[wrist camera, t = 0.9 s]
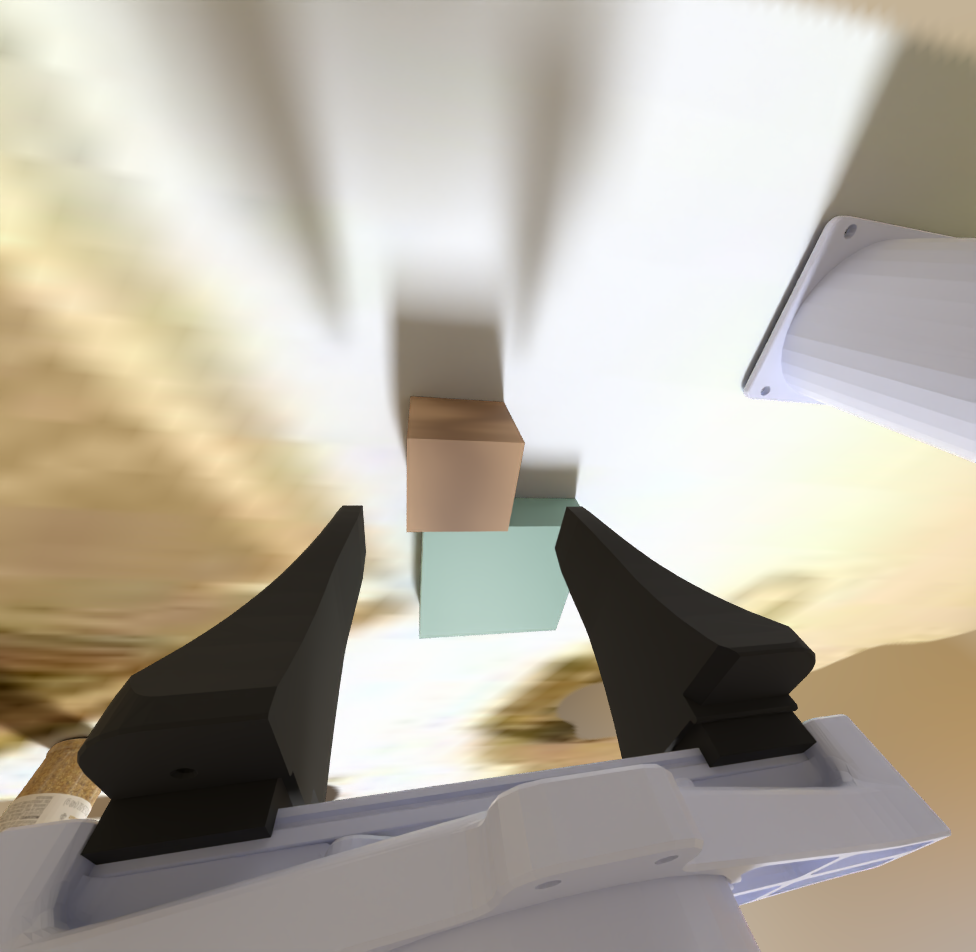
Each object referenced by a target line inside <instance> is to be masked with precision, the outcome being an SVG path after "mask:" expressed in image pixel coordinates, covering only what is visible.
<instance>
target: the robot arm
mask: <svg viewBox="0 0 976 952" xmlns="http://www.w3.org/2000/svg"><path fill="white" fill-rule="evenodd" d="M847 228H848V230H847V233H846V234H845V231H846V229H847ZM844 234H845V235H844ZM763 388H764V389H763ZM762 389H763V391H761V390H762ZM743 392H744V395H745V396H746V397H748V398H751V399H758V400H772V401H785V402H798V403H812V404H825V405H829V406H832V407H834V408H837V409H839V410H842V411H845V412H847V413H850V414H852V415H855V416H857V417H860V418H862V419H865V420H867V421H870V422H872V423H875V424H877V425H880V426H883V427H885V428H888V429H890V430H893V431H895V432H898V433H900V434H903V435H905V436H908V437H910V438H913V439H915V440H918V441H921V442H923V443H926V444H928V445H931V446H933V447H936V448H938V449H941V450H943V451H946V452H948V453H951V454H953V455H956V456H959V457H961V458H964V459H966V460H969V461H971V462H974V463H976V238H957V237H952V236H947V235H942V234H937V233H932V232H927V231H922V230H917V229H912V228H907V227H902V226H897V225H893V224H888V223H883V222H878V221H873V220H868V219H863V218H858V217H853V216H848V215H846V216H836V217H834V218H832V219H831V220H830V221H829V222H828V223H827V225H826V226H825V228H824V229H823V231H822V233H821V235H820V237H819V239H818V241H817V243H816V245H815V247H814V249H813V251H812V253H811V255H810V257H809V259H808V261H807V263H806V265H805V267H804V269H803V271H802V273H801V275H800V277H799V279H798V281H797V283H796V285H795V287H794V289H793V291H792V293H791V295H790V297H789V299H788V301H787V303H786V305H785V307H784V309H783V311H782V313H781V315H780V317H779V319H778V321H777V323H776V325H775V327H774V329H773V331H772V333H771V335H770V337H769V339H768V341H767V343H766V345H765V347H764V349H763V351H762V353H761V355H760V357H759V359H758V361H757V363H756V365H755V367H754V369H753V371H752V373H751V375H750V377H749V379H748V381H747V384H746V386H745V388H744V391H743ZM555 552H556V555H557V559H558V563H559V566H560V569H561V573H562V575H563V578H564V580H565V582H566V585H567V587H568V589H569V592H570V594H571V596H572V598H573V601H574V603H575V605H576V607H577V610H578V612H579V614H580V616H581V619H582V621H583V623H584V626H585V628H586V631H587V633H588V636H589V639H590V642H591V645H592V648H593V651H594V654H595V657H596V660H597V663H598V667H599V670H600V674H601V677H602V680H603V684H604V687H605V691H606V695H607V698H608V702H609V706H610V710H611V714H612V717H613V721H614V725H615V729H616V734H617V738H618V743H619V747H620V751H621V756H622V759H618V760H611V761H604V762H597V763H591V764H584V765H577V766H570V767H563V768H556V769H549V770H542V771H535V772H529V773H522V774H515V775H508V776H501V777H494V778H487V779H480V780H473V781H467V782H460V783H453V784H446V785H439V786H432V787H425V788H418V789H411V790H405V791H398V792H391V793H384V794H377V795H370V796H363V797H356V798H349V799H343V800H336V801H329V802H325V799H326V790H327V782H328V773H329V765H330V756H331V748H332V740H333V732H334V724H335V717H336V709H337V702H338V695H339V688H340V681H341V674H342V667H343V660H344V654H345V649H346V644H347V640H348V636H349V632H350V628H351V624H352V620H353V616H354V612H355V608H356V604H357V600H358V596H359V592H360V587H361V583H362V579H363V572H364V564H365V555H366V546H365V532H364V518H363V506H342V507H341V508H340V509H339V510H338V512H337V513H336V514H335V516H334V517H333V518H332V519H331V521H330V522H329V523H328V525H327V526H326V527H325V528H324V529H323V531H322V532H321V533H320V534H319V535H318V536H317V538H316V539H315V540H314V541H313V542H312V543H311V544H310V546H309V547H308V548H307V549H306V550H305V551H304V552H303V553H302V554H301V555H300V556H299V557H298V558H297V559H296V560H295V561H294V562H293V563H292V564H291V565H290V566H289V567H288V568H287V569H286V570H285V571H284V572H283V573H282V574H281V575H280V576H279V577H278V578H277V579H275V580H274V581H273V582H272V583H271V584H270V585H269V586H267V587H266V588H265V589H264V590H263V591H262V592H260V593H259V594H258V595H257V596H255V597H254V598H253V599H251V600H250V601H249V602H248V603H246V604H245V605H244V606H242V607H241V608H240V609H238V610H237V611H236V612H234V613H233V614H232V615H230V616H229V617H228V618H226V619H225V620H223V621H222V622H220V623H219V624H217V625H216V626H214V627H213V628H211V629H210V630H208V631H207V632H205V633H204V634H202V635H201V636H199V637H197V638H196V639H194V640H193V641H191V642H189V643H188V644H186V645H185V646H183V647H181V648H180V649H178V650H176V651H174V652H173V653H171V654H169V655H167V656H166V657H164V658H162V659H160V660H159V661H157V662H155V663H153V664H152V665H150V666H148V667H146V668H145V669H143V670H141V671H139V672H137V673H136V674H134V675H132V676H131V677H130V678H129V680H128V681H127V682H126V683H125V685H124V686H123V687H122V688H121V690H120V691H119V692H118V693H117V695H116V696H115V697H114V699H113V700H112V702H111V703H110V705H109V706H108V707H107V709H106V710H105V712H104V713H103V715H102V716H101V718H100V719H99V721H98V722H97V724H96V725H95V727H94V728H93V730H92V731H91V733H90V734H89V736H88V737H87V739H86V740H85V742H84V743H83V745H82V746H81V748H80V749H79V751H78V753H77V763H78V765H79V767H80V768H81V770H82V771H83V773H84V774H85V775H86V776H87V777H88V778H89V779H90V780H91V781H92V782H93V783H94V784H95V785H96V786H98V787H99V788H100V789H101V790H102V791H103V792H104V793H105V794H106V795H107V796H108V797H109V798H110V799H111V801H110V803H109V804H108V806H107V808H106V810H105V811H104V813H103V815H102V817H101V819H100V820H99V822H98V821H96V820H91V819H70V820H63V821H55V822H48V823H41V824H33V825H26V826H19V827H11V828H7V829H6V830H4V831H2V832H0V952H761V951H760V949H759V947H758V945H757V943H756V941H755V939H754V937H753V935H752V933H751V930H750V928H749V927H748V924H747V922H746V920H745V918H744V916H743V914H742V912H741V910H740V908H739V905H743V904H746V903H750V902H753V901H757V900H760V899H764V898H767V897H770V896H774V895H777V894H781V893H784V892H787V891H791V890H795V889H798V888H801V887H805V886H809V885H812V884H815V883H819V882H823V881H826V880H830V879H834V878H837V877H841V876H845V875H849V874H853V873H857V872H861V871H864V870H868V869H872V868H876V867H879V866H881V865H883V864H886V863H888V862H890V861H893V860H895V859H897V858H900V857H902V856H904V855H907V854H909V853H911V852H913V851H916V850H918V849H920V848H923V847H925V846H927V845H930V844H932V843H934V842H937V841H939V840H941V839H944V838H946V837H948V836H951V830H950V829H949V828H948V827H947V825H946V824H945V823H944V822H943V821H942V820H941V819H940V818H939V817H938V815H937V814H936V813H935V812H934V811H933V810H932V809H931V808H930V807H929V806H928V805H927V803H926V802H925V801H924V800H923V799H922V798H921V797H920V796H919V795H918V793H917V792H916V791H915V790H914V789H913V788H912V787H911V786H910V785H909V784H908V782H907V781H906V780H905V779H904V778H903V777H902V776H901V775H900V774H899V772H898V771H896V769H895V768H894V767H893V766H892V765H891V764H890V763H889V761H888V760H887V759H886V758H885V757H884V756H883V755H882V754H881V753H880V752H879V750H878V749H877V748H876V747H875V746H874V745H873V744H872V743H871V742H870V741H869V740H868V738H867V737H866V736H865V735H864V734H863V733H862V732H861V731H860V729H858V727H857V726H856V725H855V724H854V723H853V722H852V721H851V720H850V718H849V717H848V716H846V715H843V714H840V715H832V716H825V717H818V718H813V719H809V720H807V721H804V722H803V723H801V721H800V720H799V719H798V718H797V716H796V715H795V714H794V713H793V711H796V710H797V709H798V707H797V704H796V703H795V702H794V700H793V699H792V698H791V697H790V696H789V693H790V692H791V691H792V690H793V689H794V688H795V687H796V686H797V685H798V684H799V683H800V682H801V681H802V680H803V679H804V678H805V677H806V676H807V675H808V674H809V673H810V672H811V670H812V669H813V667H814V665H815V653H814V652H813V651H812V650H811V649H810V648H809V647H808V646H807V645H806V644H805V643H804V642H803V641H802V640H801V638H800V637H799V636H798V635H797V634H796V633H795V632H794V631H793V630H792V629H791V628H790V627H789V626H786V625H783V624H781V623H778V622H776V621H773V620H770V619H768V618H765V617H763V616H760V615H757V614H755V613H752V612H750V611H747V610H745V609H743V608H740V607H738V606H736V605H734V604H731V603H729V602H727V601H725V600H723V599H721V598H718V597H716V596H714V595H712V594H710V593H708V592H706V591H704V590H702V589H701V588H699V587H697V586H695V585H693V584H691V583H689V582H687V581H686V580H684V579H682V578H680V577H679V576H677V575H675V574H674V573H672V572H670V571H669V570H667V569H666V568H664V567H662V566H661V565H659V564H658V563H656V562H655V561H653V560H652V559H650V558H649V557H647V556H646V555H645V554H643V553H642V552H640V551H639V550H637V549H636V548H635V547H633V546H632V545H631V544H629V543H628V542H627V541H625V540H624V539H623V538H622V537H620V536H619V535H618V534H616V533H615V532H614V531H613V530H611V529H610V528H609V527H608V526H606V525H605V524H604V523H603V522H601V521H600V520H599V519H598V518H596V517H595V516H594V515H593V514H591V513H590V512H589V511H587V510H586V509H585V508H583V507H566V510H565V513H564V517H563V520H562V524H561V527H560V531H559V534H558V538H557V541H556V545H555Z"/></svg>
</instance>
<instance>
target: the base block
mask: <svg viewBox="0 0 976 952" xmlns="http://www.w3.org/2000/svg"><path fill="white" fill-rule="evenodd" d="M566 507H580V506H579V504H578V502H577V501H576V499H575V498H514V502H513V507H512V512H511V517H510V523H509V528H508V531H486V532H422V550H421V578H420V610H419V639H421V638H437V637H453V636H469V635H485V634H501V633H517V632H533V631H548V630H556V628H557V625H558V622H559V619H560V616H561V613H562V611H563V608H564V605H565V602H566V599H567V596H568V593H569V589H568V587H567V585H566V582H565V580H564V578H563V575H562V573H561V569H560V566H559V563H558V559H557V555H556V552H555V545H556V541H557V538H558V534H559V531H560V527H561V524H562V520H563V517H564V513H565V510H566Z"/></svg>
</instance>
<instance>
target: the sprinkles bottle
mask: <svg viewBox="0 0 976 952" xmlns="http://www.w3.org/2000/svg"><path fill="white" fill-rule="evenodd" d="M86 739H87V738H80V739H71V740H66V741H62V742H60V743H57V744H55V745H54V746H53V747H52V748H51V749H50V750H49V751H48V753H47V755H46V758H45V760H44V761H43V763H42V764H41V765H40V767H39V768H38V769H37V771H36V772H35V773H34V775H33V776H32V778H31V779H30V780H29V781H28V783H27V785H26V786H25V787H24V788H23V790H22V791H21V792H20V794H19V795H18V796H17V798H16V799H15V800H14V801H13V802H12V803H11V804H10V805H9V806H8V808H7V809H6V811H5V812H4V813H3V815H2V816H1V817H0V832H2V831H4V830H6V829H7V828H11V827H19V826H26V825H33V824H41V823H48V822H55V821H63V820H70V819H86V818H87V816H88V814H89V812H90V811H91V808H92V806H93V804H94V802H95V801H96V799H97V797H98V795H99V794H100V792H101V789H100V788H99V787H98V786H96V785H95V784H94V783H93V782H92V781H91V780H90V779H89V778H88V777H87V776H86V775H85V774H84V773H83V771H82V770H81V768H80V767H79V765H78V763H77V753H78V751H79V749H80V748H81V746H82V745H83V743H84V742H85V740H86Z"/></svg>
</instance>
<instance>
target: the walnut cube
mask: <svg viewBox="0 0 976 952" xmlns="http://www.w3.org/2000/svg"><path fill="white" fill-rule="evenodd" d="M524 445H525V442H524V440H523V438H522V436H521V435H520V433H519V431H518V429H517V427H516V425H515V423H514V421H513V419H512V417H511V415H510V413H509V411H508V409H507V407H506V405H505V403H504V402H496V401H480V400H464V399H448V398H432V397H416V396H410V408H409V420H408V432H407V532H486V531H508V528H509V523H510V517H511V512H512V507H513V502H514V497H515V492H516V486H517V481H518V476H519V471H520V466H521V461H522V455H523V450H524Z"/></svg>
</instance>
